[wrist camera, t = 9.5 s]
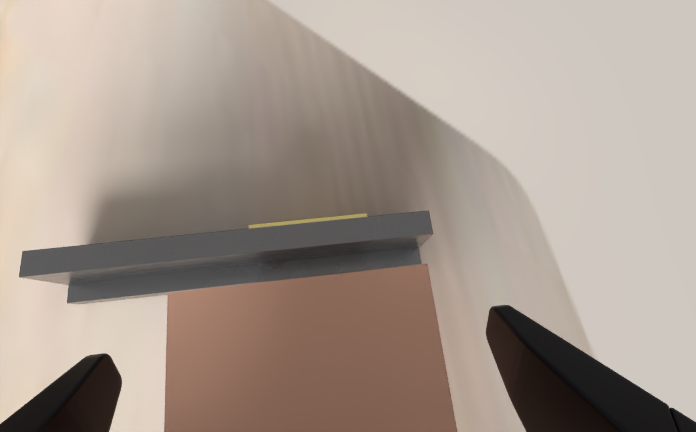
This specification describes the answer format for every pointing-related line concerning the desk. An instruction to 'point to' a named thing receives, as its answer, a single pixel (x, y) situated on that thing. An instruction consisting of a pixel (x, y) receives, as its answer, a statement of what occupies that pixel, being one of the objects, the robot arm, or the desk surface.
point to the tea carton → (308, 356)
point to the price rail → (231, 256)
